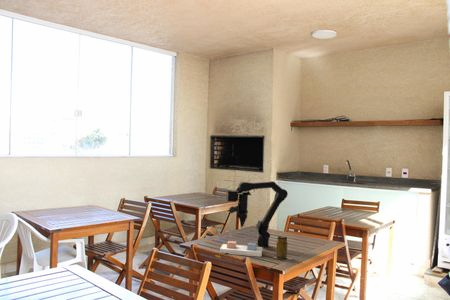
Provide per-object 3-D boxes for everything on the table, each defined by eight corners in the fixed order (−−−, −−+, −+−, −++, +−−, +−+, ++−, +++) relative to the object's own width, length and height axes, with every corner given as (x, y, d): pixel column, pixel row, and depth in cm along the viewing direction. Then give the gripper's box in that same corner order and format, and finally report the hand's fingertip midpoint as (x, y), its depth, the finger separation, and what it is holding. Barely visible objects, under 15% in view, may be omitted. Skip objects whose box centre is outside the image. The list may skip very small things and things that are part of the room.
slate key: (256, 249, 230) (256, 243, 230) (255, 252, 226) (256, 245, 226) (247, 249, 231) (248, 242, 231) (247, 251, 226) (247, 244, 226)
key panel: (262, 251, 233) (262, 247, 233) (261, 256, 222) (261, 252, 222) (222, 248, 237) (223, 243, 237) (219, 253, 225) (219, 248, 225)
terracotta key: (236, 248, 232) (236, 241, 232) (235, 250, 227) (235, 243, 227) (227, 247, 233) (228, 240, 233) (226, 249, 228) (227, 242, 228)
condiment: (280, 255, 226) (281, 234, 226) (292, 258, 220) (293, 237, 220) (272, 257, 221) (273, 236, 221) (285, 261, 215) (286, 239, 215)
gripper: (231, 199, 254) (230, 223, 254) (229, 203, 235) (227, 229, 235) (248, 200, 253) (247, 224, 253) (247, 204, 234) (246, 230, 234)
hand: (241, 226), depth 244 cm, fingers closed
